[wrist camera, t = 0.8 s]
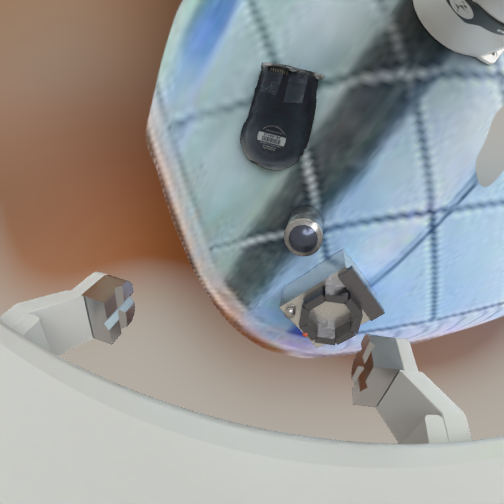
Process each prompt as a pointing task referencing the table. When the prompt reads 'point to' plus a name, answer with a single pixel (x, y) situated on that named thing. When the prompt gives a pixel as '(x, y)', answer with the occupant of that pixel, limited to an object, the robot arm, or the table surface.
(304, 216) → the lens
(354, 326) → the camera body
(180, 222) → the table surface
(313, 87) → the electronic device
